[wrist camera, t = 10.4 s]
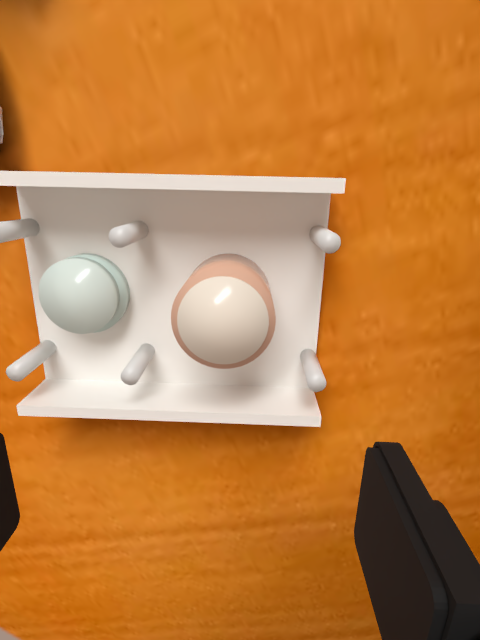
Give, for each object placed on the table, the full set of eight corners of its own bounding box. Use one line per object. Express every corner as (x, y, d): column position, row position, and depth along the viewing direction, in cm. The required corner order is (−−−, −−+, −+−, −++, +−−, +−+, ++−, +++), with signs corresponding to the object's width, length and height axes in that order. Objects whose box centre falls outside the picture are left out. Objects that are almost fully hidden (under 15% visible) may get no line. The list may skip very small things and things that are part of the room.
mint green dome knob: (127, 254, 27) (117, 259, 25) (132, 329, 29) (124, 339, 27) (48, 252, 27) (32, 256, 25) (58, 326, 29) (44, 336, 27)
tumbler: (273, 255, 27) (279, 272, 21) (267, 336, 29) (272, 373, 23) (187, 251, 27) (169, 266, 21) (186, 332, 29) (170, 367, 23)
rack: (328, 180, 26) (347, 178, 21) (309, 389, 31) (321, 430, 26) (24, 173, 27) (-33, 169, 22) (54, 380, 32) (14, 418, 27)
